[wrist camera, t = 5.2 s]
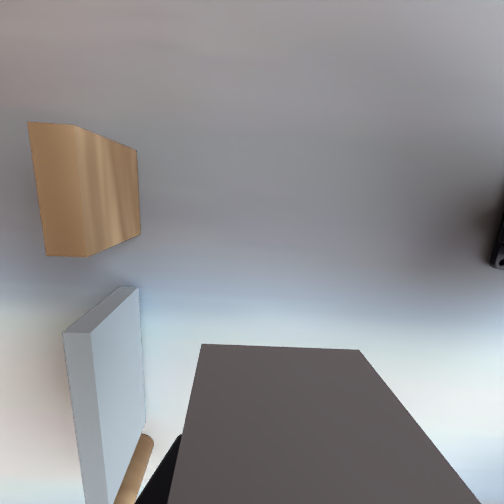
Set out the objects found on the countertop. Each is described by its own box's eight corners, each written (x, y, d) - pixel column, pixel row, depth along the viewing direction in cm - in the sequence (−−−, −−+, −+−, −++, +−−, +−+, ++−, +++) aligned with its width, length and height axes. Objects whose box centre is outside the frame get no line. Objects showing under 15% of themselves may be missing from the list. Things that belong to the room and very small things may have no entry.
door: (138, 286, 16) (90, 333, 11) (145, 422, 19) (109, 512, 14) (103, 285, 16) (38, 332, 11) (116, 422, 19) (67, 513, 13)
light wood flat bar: (140, 150, 15) (55, 115, 8) (154, 453, 20) (111, 588, 13) (105, 148, 15) (-12, 110, 8) (128, 454, 20) (72, 590, 13)
